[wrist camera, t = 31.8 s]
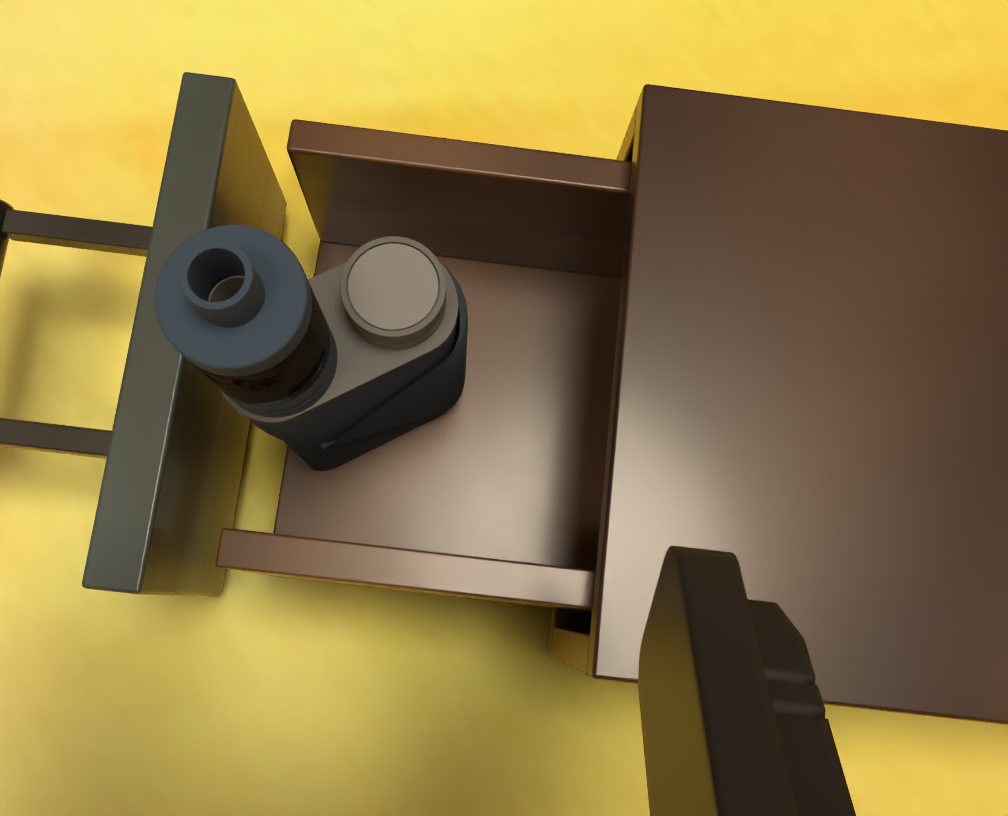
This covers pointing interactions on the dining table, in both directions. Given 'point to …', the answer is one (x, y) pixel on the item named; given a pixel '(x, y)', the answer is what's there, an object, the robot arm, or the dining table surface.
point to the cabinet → (814, 392)
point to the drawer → (414, 455)
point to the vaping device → (318, 337)
